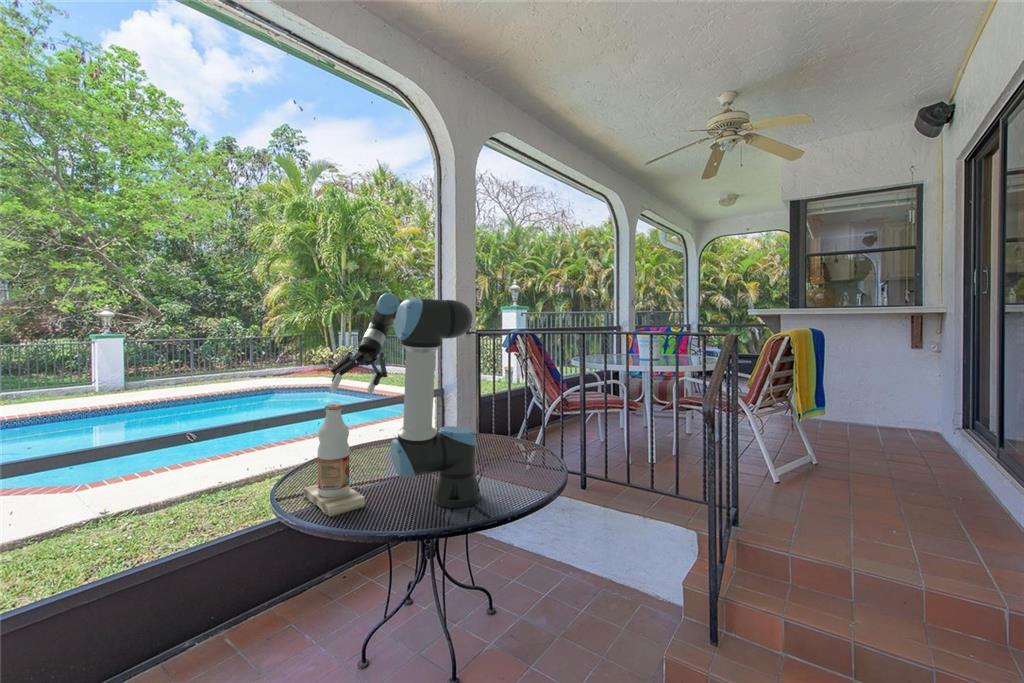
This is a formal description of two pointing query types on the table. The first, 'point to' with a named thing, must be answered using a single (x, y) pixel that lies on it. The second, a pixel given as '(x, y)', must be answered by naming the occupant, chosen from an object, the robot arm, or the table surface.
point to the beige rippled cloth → (335, 501)
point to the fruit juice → (333, 454)
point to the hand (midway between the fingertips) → (350, 391)
